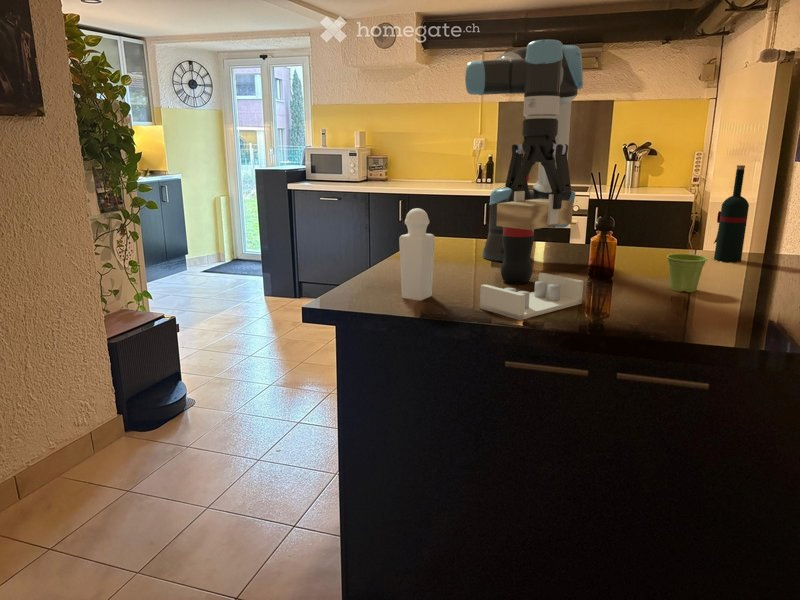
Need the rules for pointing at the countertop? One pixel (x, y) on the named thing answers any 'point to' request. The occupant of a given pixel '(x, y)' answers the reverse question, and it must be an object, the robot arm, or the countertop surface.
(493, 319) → the countertop surface
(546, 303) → the cradle
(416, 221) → the white square bottle
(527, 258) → the cola bottle
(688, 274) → the plant pot
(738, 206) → the wine bottle
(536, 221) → the wooden block
